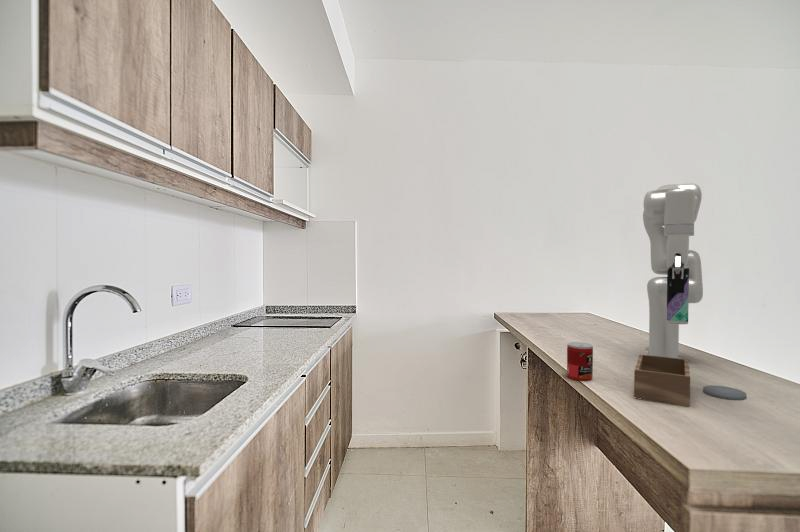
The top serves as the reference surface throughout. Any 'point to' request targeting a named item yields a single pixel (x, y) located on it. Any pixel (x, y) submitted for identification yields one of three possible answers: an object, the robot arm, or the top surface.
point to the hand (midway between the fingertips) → (677, 291)
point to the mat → (724, 392)
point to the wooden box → (662, 380)
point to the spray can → (678, 299)
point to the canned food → (580, 361)
